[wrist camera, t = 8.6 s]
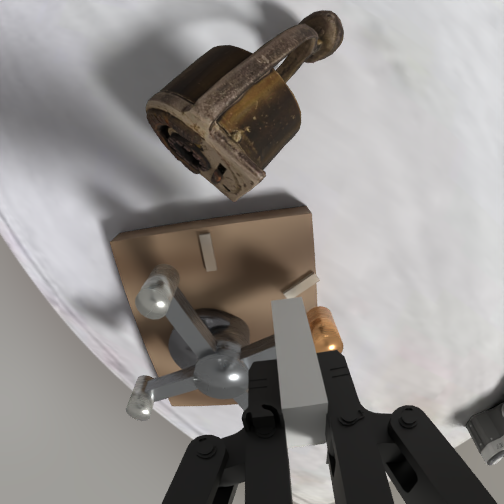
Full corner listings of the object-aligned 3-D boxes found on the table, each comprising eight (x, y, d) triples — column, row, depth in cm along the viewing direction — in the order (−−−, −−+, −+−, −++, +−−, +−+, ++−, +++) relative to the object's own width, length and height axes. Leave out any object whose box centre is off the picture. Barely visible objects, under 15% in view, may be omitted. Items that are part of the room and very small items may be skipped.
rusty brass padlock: (158, 152, 20) (90, 174, 11) (243, -4, 16) (236, -83, 7) (251, 195, 22) (251, 250, 12) (337, 40, 17) (396, -13, 8)
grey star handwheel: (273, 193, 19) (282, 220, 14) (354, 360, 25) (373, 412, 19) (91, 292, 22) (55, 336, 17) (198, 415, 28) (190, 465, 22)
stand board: (120, 232, 22) (108, 243, 20) (309, 205, 22) (315, 214, 20) (175, 391, 29) (171, 408, 27) (317, 379, 28) (321, 396, 26)
